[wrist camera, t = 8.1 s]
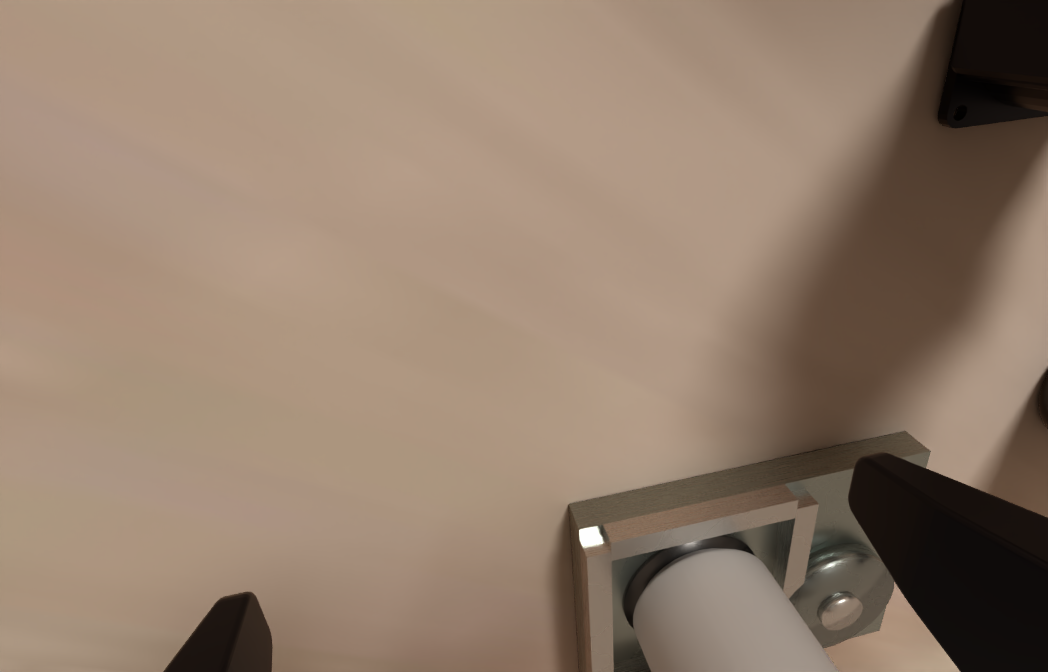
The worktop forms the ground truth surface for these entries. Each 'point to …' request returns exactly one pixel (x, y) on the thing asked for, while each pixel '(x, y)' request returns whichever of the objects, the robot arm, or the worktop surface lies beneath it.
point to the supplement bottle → (1044, 402)
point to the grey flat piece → (734, 545)
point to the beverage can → (723, 619)
